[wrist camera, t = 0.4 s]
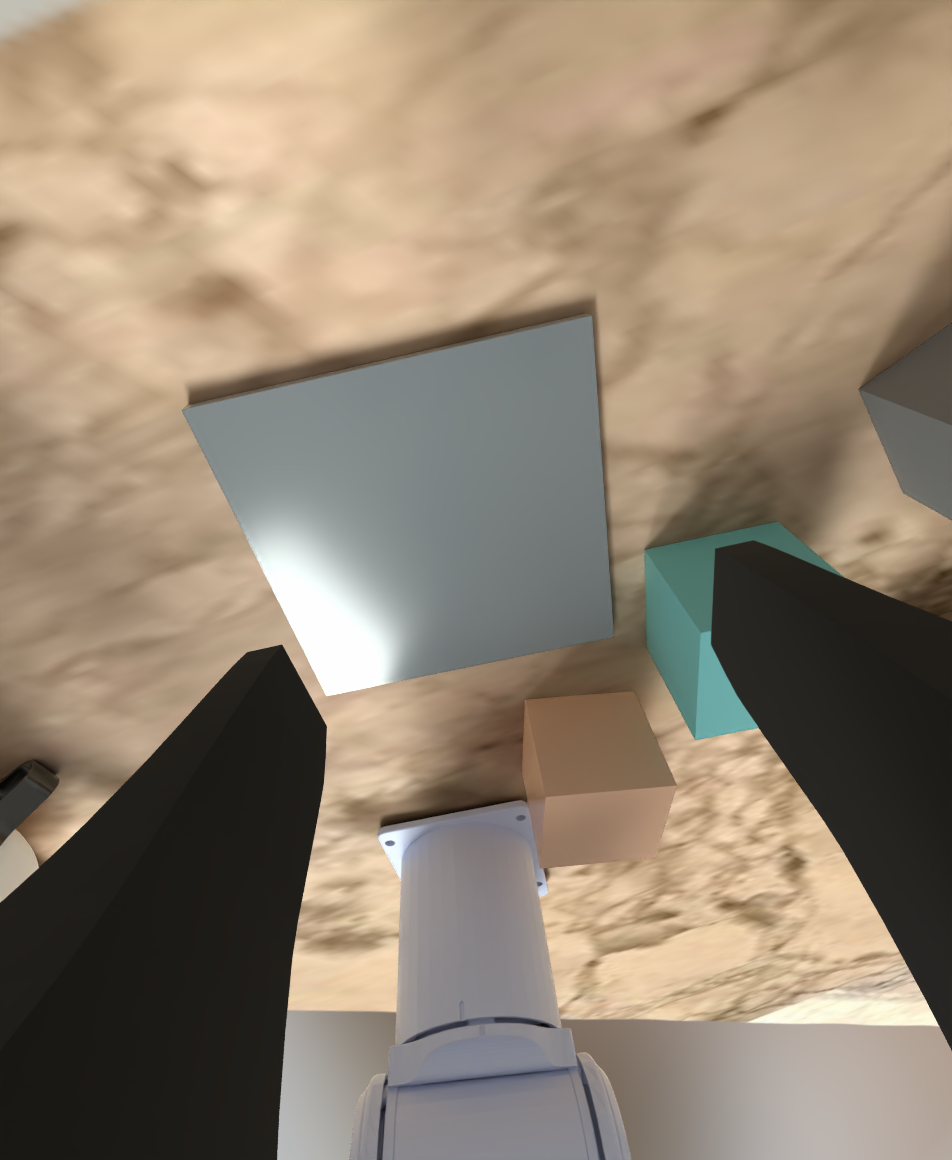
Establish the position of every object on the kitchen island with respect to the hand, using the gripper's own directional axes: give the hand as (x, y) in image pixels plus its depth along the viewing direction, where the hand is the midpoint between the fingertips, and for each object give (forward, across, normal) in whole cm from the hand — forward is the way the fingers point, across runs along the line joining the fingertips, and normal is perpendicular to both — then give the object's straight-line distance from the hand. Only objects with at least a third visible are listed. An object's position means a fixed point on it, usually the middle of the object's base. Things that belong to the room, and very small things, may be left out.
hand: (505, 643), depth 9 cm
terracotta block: (+10, -2, +15) cm, 18 cm away
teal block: (+10, -8, +8) cm, 15 cm away
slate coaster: (+10, +2, +3) cm, 10 cm away
